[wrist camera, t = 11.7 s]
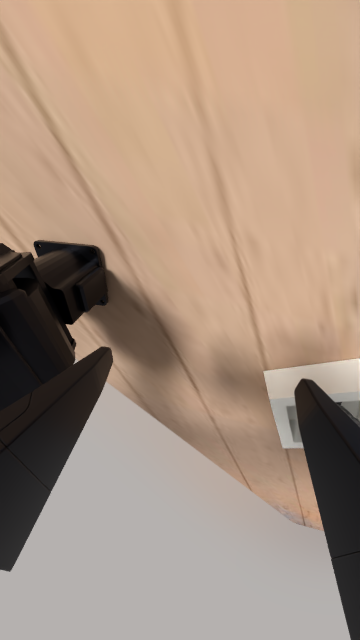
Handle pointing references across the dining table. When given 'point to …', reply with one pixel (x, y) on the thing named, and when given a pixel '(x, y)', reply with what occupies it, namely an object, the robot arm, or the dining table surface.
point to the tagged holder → (333, 378)
